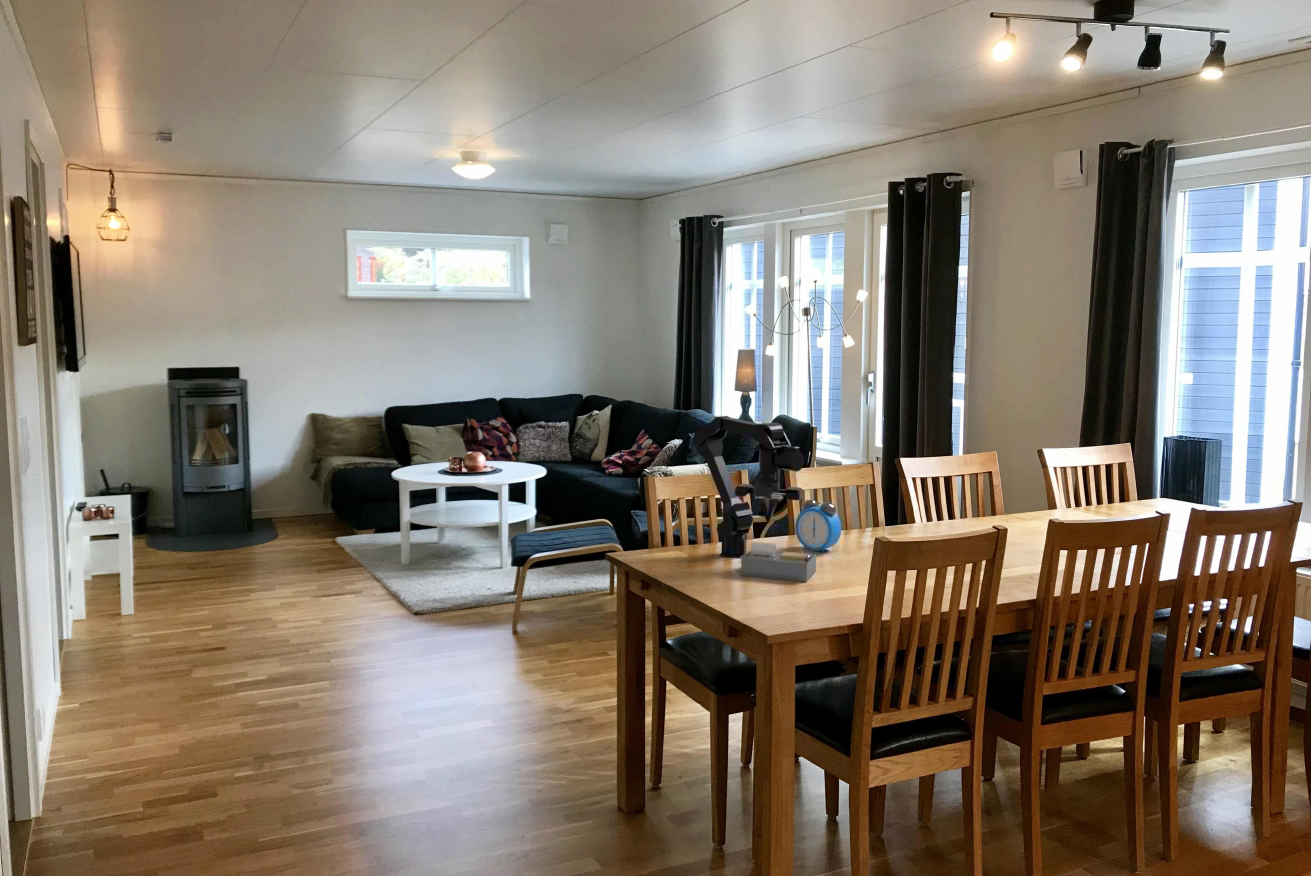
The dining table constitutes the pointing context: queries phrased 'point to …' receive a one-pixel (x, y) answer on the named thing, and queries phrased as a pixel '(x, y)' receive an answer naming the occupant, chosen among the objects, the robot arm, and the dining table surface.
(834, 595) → the dining table surface
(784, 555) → the brass latch
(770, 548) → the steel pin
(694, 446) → the robot arm
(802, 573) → the block
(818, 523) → the alarm clock
